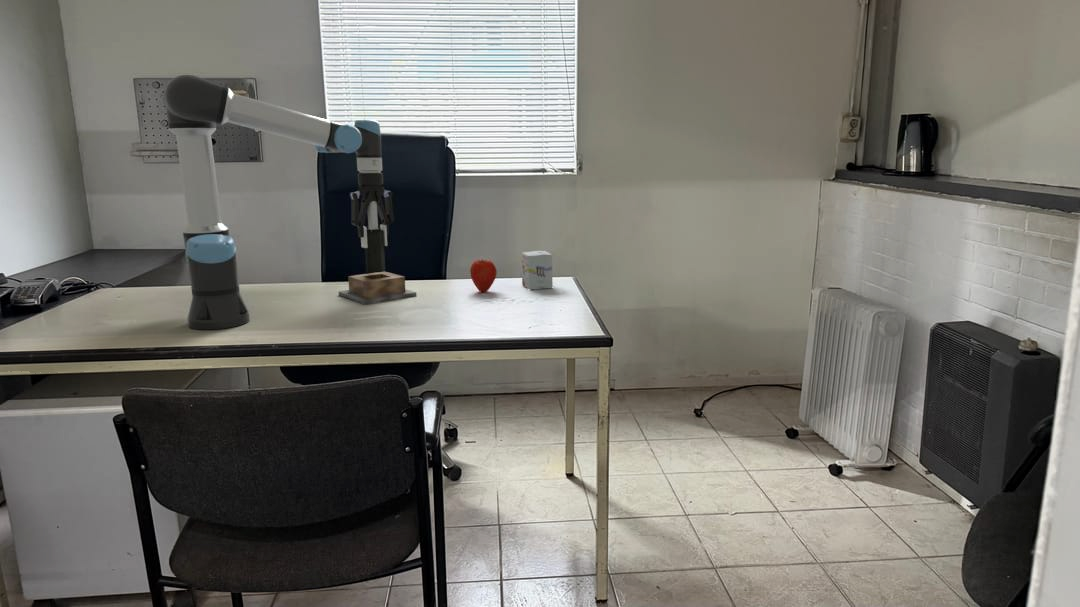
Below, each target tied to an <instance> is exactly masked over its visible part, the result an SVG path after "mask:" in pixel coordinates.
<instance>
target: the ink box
mask: <svg viewBox="0 0 1080 607" xmlns="http://www.w3.org/2000/svg"><path fill="white" fill-rule="evenodd" d="M521 264H522V265H521V272H522V273H521V277H522V279H521V280H522V282H521V283H522V284H521V286H522V285H524V286H525V287H527V288H528V289H535V290H541V289H540V288H548V289H553V288H554V286H553V254H552V253H550V252H548V251H547V250H534V251H523V252H521ZM524 286H523V287H524ZM525 287H524V288H525ZM552 287H553V288H552ZM527 288H526V289H527ZM528 289H527V290H528Z"/></svg>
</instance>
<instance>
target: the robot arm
mask: <svg viewBox="0 0 1080 607" xmlns="http://www.w3.org/2000/svg"><path fill="white" fill-rule="evenodd" d="M163 104H164V107H165V111H166V113H165V114H166V119H167V125H168V131H169V132H171V133H172V134H173V135H174V136H175V139H176V144H177V154H178V159H179V160H178V161H179V166H180V167H179V168H180V175H181V181H182V191H183V197H184V205H185V212H186V220H187V226H185V228H184V229H183V231H182V236H183V242H184V250H185V251H184V257H185V262H186V264H187V266H188V270H189V272H188V274H189V279H190V289H191V295H192V296H191V297H192V298H191V302H190V306H189V310H188V315H187V324H188V327H189V328H190V329H193V330H194V329H195V330H206V331H207V330H210V331H211V330H221V329H228V328H229V329H230V328H233V327H234V328H235V327H237V326H238V327H239V326H241V325H245V324H246V323H248V322H250V321H251V320H250V312H249V310H248V309H249V308H247V305H246V304H245V300H244V299H243V297H242V294H241V291H240V284H239V283H240V281H239V273H238V264H237V263H238V262H237V246H236V244H235V241H234V239H233V237H231V236H230V232H229V227H228V226H227V225H225V224H224V223H223V221H222V214H221V206H220V198H219V191H218V190H219V188H218V182H217V174H216V172H217V171H216V166H215V165H216V163H215V155H214V148H213V141H212V135H213V134H214V133H215V132H216V130H217V125H222V126H223V125H225V124H227V123H229V124H233V125H237V126H241V127H245V128H249V129H252V130H256V131H260V132H264V133H268V134H272V135H276V136H279V137H283V138H287V139H291V140H294V141H298V142H302V143H306V144H310V145H313V146H314V147H315V150H316V151H317V152H318V153H326V154H329V153H331V154H332V153H333V154H334V153H345V154H352V153H355V154H356V166H357V167H356V168H357V170H356V171H358V174H357V183H358V189H357V191H354V192H349V197H350V201H351V202H350V204H351V206H350V207H351V209H350V210H351V212H350V213H351V214H350V215H351V217H350V218H351V224H350V225H353V226H355V227H357V235H358V238H360V243H361V244H360V246H361V248H363V249H365V248H368V245H367V229H368V227H366V226H365V223H366V222H365V221H366V217H367V215H368V206H369V205H370V203H371V202H372V201H375V202H377V214H378V215H379V218H380V221H381V224H380V225H379V227H380V229H381V230H383V239H384V247H388V235H390V226H389V225H391V223H394V222H395V216H394V209H393V208H394V206H393V191H392V190H386V189H385V188H384V174H383V172H382V171H383V157H382V134H381V127H380V123H379V121H378V120H374V119H372V120H371V119H363V120H362V119H361V120H360V119H358V120H355V121H354V125H350V124H342V123H339V122H337V121H336V122H335V121H331V120H329V119H325V118H321V117H318V116H314V115H310V114H307V113H303V112H302V111H301V112H300V111H297V110H293V109H289V108H287V107H283V106H279V105H275V104H272V103H269V102H268V103H267V102H265V101H262V100H258V99H256V98H251V97H248V96H244V95H241V94H238V93H233V91H232V90H231V88H229V87H227V86H224V85H221V84H218V83H214V82H212V81H209V80H207V79H204V78H202V77H199V76H197V75H192V74H181V75H178V76H175V77H173V78H172V79H171V80H170V81H169V82H168V83H167V85H166V87H165V90H164V92H163ZM216 124H217V125H216ZM382 197H384V200H383V199H382ZM360 198H361V202H360V201H359V199H360ZM383 201H384V202H383ZM359 202H360V203H359ZM359 204H360V206H359ZM359 208H360V209H359Z"/></svg>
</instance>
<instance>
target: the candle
mask: <svg viewBox="0 0 1080 607" xmlns="http://www.w3.org/2000/svg"><path fill="white" fill-rule="evenodd" d="M367 221H368V222H367V223H368V225H367V227H368V228H367V245H368V248H364V253H365V254H364V255H365V271H366V273H379V272H386V261H385V260H386V259H385V246H384V239H383V230H381V229H380V228H379V219H378V210H377V202H375V201H372V202H371V203H370V205H369V206H368V210H367Z"/></svg>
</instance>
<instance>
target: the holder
mask: <svg viewBox="0 0 1080 607" xmlns="http://www.w3.org/2000/svg"><path fill="white" fill-rule="evenodd" d="M347 277H348V278H347V279H348V280H347V281H348V289H347V290H346V289H345V290H340V291H338V296H339V297H342V296H343V298H345V297H346V299H348V298H349V299H348V300H350V301H354V302H356V303H359V302H360V304H362V303H363V305H370V303H371V304H377V303H382V302H381V301H383V302H388V301H387V300H389V301H394V300H393V299H395V300H399V299H398V298H401V299H405V298H404V297H407V298H411V297H410V296H413V297H417V296H418V295H417V292H416V291H413V290H410V289H407V288H406V277H405V276H404V275H400V274H396V273H392V272H388V271H383V272H379V273H377V272H369V273H363V274H354V275H349V276H347ZM416 295H417V296H416ZM376 302H377V303H376Z"/></svg>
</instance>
